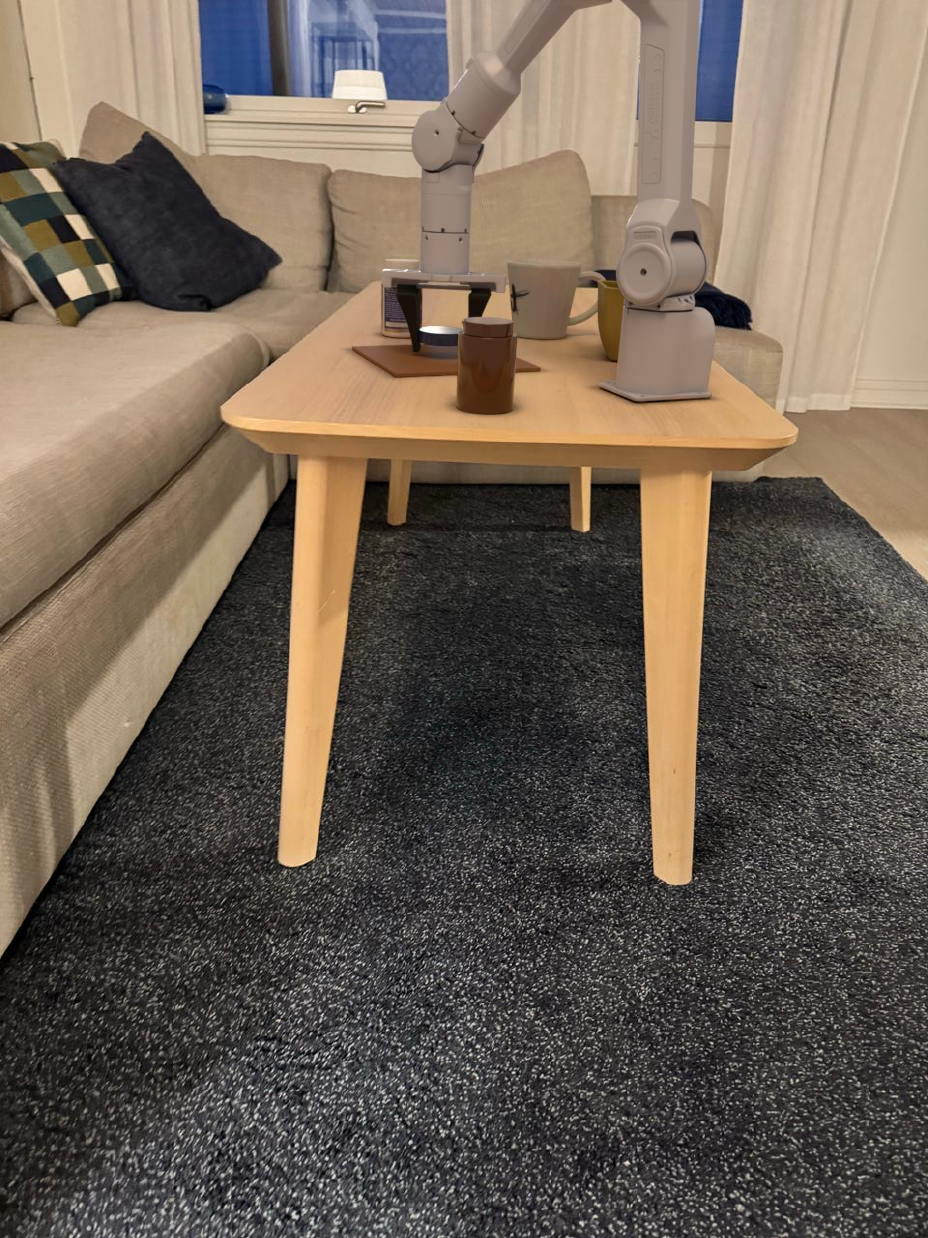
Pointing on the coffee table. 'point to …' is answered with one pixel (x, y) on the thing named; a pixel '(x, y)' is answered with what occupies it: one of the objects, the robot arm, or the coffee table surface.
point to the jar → (486, 365)
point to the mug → (546, 296)
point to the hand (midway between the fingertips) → (442, 352)
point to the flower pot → (610, 316)
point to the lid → (439, 335)
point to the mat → (421, 360)
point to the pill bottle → (396, 303)
